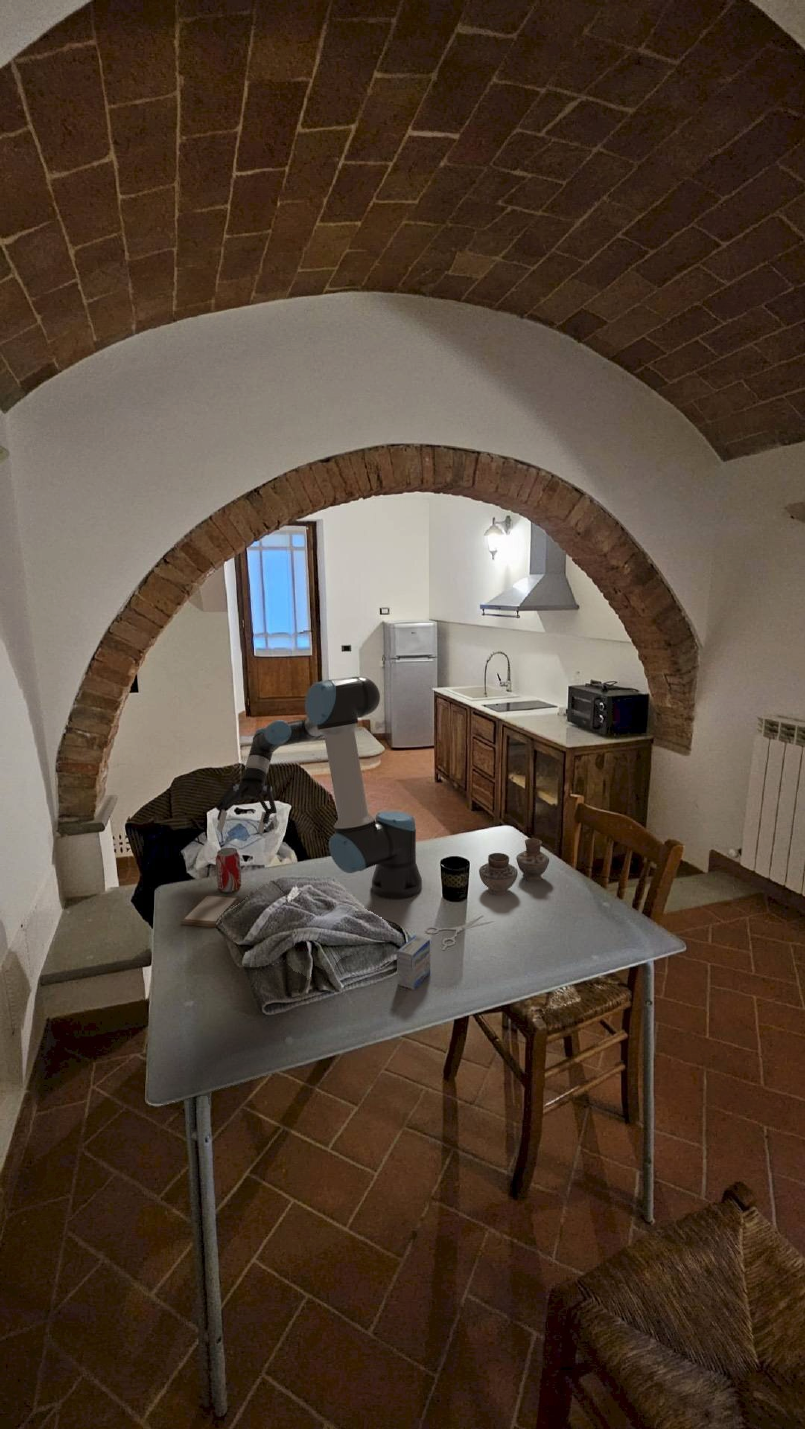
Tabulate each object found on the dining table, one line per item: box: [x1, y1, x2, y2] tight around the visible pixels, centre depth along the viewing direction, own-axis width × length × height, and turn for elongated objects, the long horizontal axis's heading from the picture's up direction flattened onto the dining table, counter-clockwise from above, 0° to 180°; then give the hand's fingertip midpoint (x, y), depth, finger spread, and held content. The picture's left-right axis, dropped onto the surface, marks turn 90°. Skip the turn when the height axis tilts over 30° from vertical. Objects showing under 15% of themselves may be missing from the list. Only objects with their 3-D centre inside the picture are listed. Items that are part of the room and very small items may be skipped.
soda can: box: [215, 847, 242, 893], centre depth 188 cm, size 7×7×12 cm
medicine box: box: [396, 934, 431, 990], centre depth 143 cm, size 8×4×9 cm, turn 148°
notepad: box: [180, 894, 240, 928], centre depth 175 cm, size 10×15×1 cm, turn 170°
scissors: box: [424, 915, 495, 952], centre depth 164 cm, size 11×1×20 cm
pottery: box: [478, 838, 550, 896], centre depth 188 cm, size 11×25×12 cm, turn 125°
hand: (239, 831), depth 196 cm, fingers open, 13 cm apart
